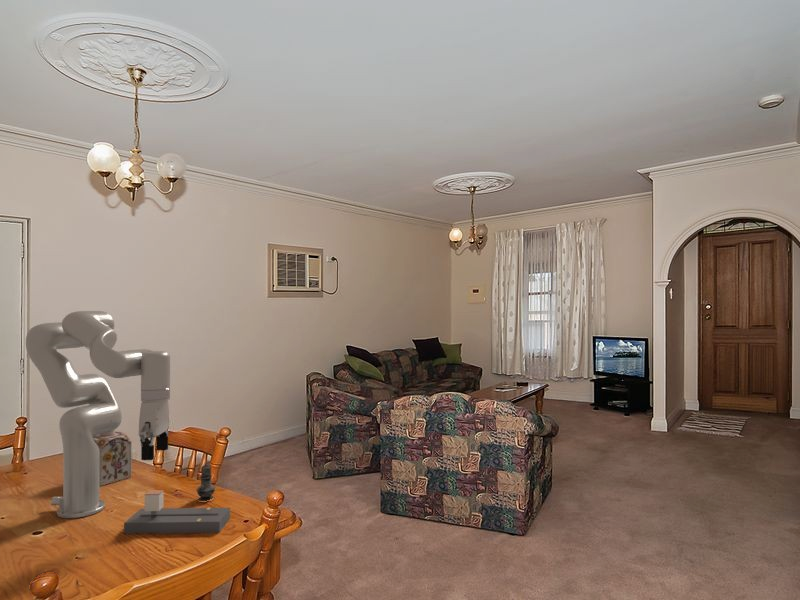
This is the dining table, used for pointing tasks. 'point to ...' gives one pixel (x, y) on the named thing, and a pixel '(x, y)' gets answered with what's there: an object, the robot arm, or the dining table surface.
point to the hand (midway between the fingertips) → (155, 454)
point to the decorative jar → (114, 456)
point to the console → (178, 521)
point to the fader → (154, 501)
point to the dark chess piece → (205, 484)
